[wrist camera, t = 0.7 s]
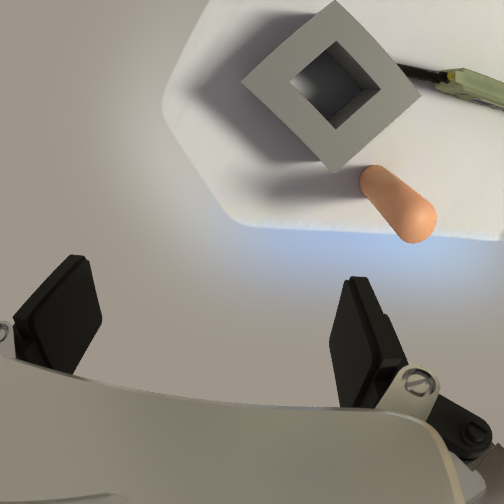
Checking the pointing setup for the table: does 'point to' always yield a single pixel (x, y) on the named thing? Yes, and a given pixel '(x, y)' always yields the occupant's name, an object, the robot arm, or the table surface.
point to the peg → (398, 204)
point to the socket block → (356, 64)
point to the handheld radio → (463, 84)
